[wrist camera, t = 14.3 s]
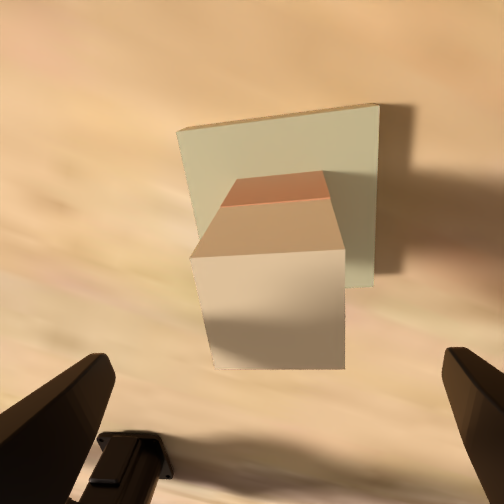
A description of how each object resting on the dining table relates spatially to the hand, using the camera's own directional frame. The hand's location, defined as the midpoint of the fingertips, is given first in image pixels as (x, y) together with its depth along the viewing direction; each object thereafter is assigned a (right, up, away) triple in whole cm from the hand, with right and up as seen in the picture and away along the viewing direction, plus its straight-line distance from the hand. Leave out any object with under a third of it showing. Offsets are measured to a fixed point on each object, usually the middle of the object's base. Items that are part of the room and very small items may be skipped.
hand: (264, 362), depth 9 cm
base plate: (+2, +6, +11) cm, 13 cm away
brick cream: (+1, +3, +6) cm, 6 cm away
